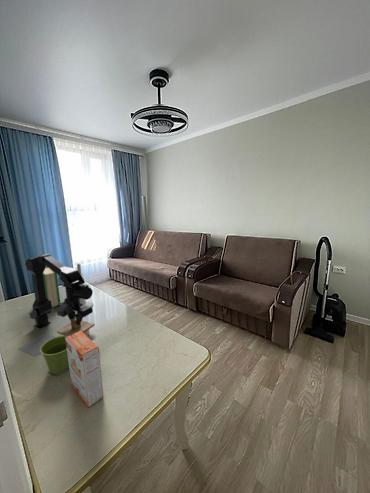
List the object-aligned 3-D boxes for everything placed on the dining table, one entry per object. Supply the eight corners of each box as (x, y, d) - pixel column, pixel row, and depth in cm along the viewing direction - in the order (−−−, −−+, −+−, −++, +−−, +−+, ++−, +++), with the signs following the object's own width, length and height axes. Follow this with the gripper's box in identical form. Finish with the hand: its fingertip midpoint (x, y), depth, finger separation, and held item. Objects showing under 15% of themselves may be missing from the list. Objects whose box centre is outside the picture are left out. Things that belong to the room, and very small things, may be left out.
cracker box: (70, 386, 79) (64, 336, 75) (86, 376, 83) (81, 329, 79) (87, 409, 70) (81, 355, 66) (104, 397, 74) (99, 345, 70)
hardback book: (60, 305, 140) (56, 271, 135) (47, 309, 135) (43, 274, 130) (53, 297, 152) (49, 265, 147) (41, 300, 147) (37, 268, 142)
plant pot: (52, 384, 79) (49, 359, 77) (37, 371, 85) (34, 347, 83) (82, 365, 89) (79, 341, 87) (66, 354, 95) (64, 332, 93)
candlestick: (86, 300, 148) (82, 259, 142) (97, 305, 141) (93, 262, 135) (68, 307, 138) (63, 263, 132) (78, 313, 130) (73, 267, 124)
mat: (17, 350, 98) (17, 348, 98) (45, 334, 110) (44, 333, 110) (35, 357, 93) (35, 356, 93) (62, 340, 105) (62, 339, 105)
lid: (57, 332, 103) (55, 322, 102) (77, 320, 114) (76, 310, 113) (74, 338, 99) (73, 327, 98) (94, 325, 110) (93, 315, 109)
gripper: (44, 298, 99) (48, 328, 102) (72, 306, 92) (75, 337, 95) (65, 290, 109) (68, 317, 112) (92, 296, 102) (94, 324, 106)
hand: (76, 324), depth 106 cm, fingers open, 4 cm apart
